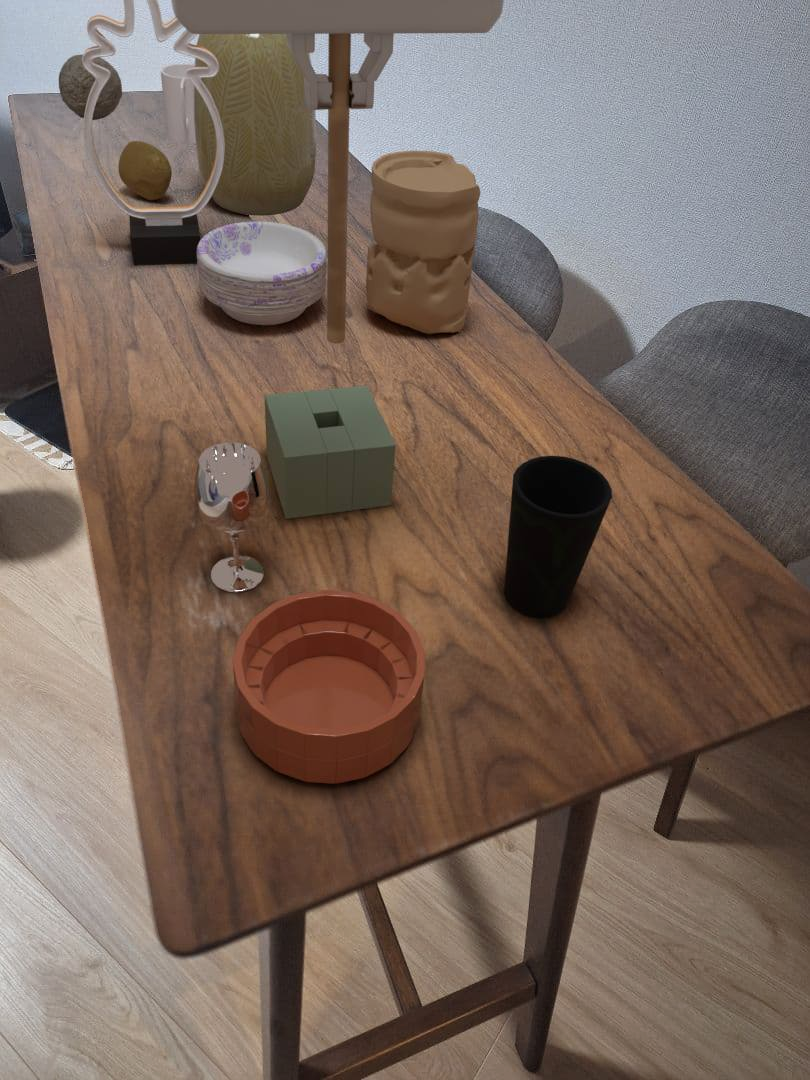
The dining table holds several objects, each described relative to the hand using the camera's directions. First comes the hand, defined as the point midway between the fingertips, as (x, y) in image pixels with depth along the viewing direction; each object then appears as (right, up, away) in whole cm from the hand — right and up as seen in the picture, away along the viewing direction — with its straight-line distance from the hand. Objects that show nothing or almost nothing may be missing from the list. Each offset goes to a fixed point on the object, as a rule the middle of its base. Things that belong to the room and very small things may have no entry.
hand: (339, 107), depth 60 cm
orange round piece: (-1, -41, +8) cm, 42 cm away
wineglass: (-10, -31, +18) cm, 37 cm away
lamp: (-28, +10, +63) cm, 70 cm away
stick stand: (-3, -23, +28) cm, 36 cm away
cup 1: (-32, +40, +95) cm, 108 cm away
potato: (-34, +22, +75) cm, 85 cm away
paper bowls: (-13, 0, +53) cm, 54 cm away
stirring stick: (-1, -13, +11) cm, 17 cm away
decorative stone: (-50, +45, +99) cm, 120 cm away
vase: (-18, +23, +78) cm, 83 cm away
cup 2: (+16, -33, +19) cm, 41 cm away
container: (+6, -1, +54) cm, 54 cm away
